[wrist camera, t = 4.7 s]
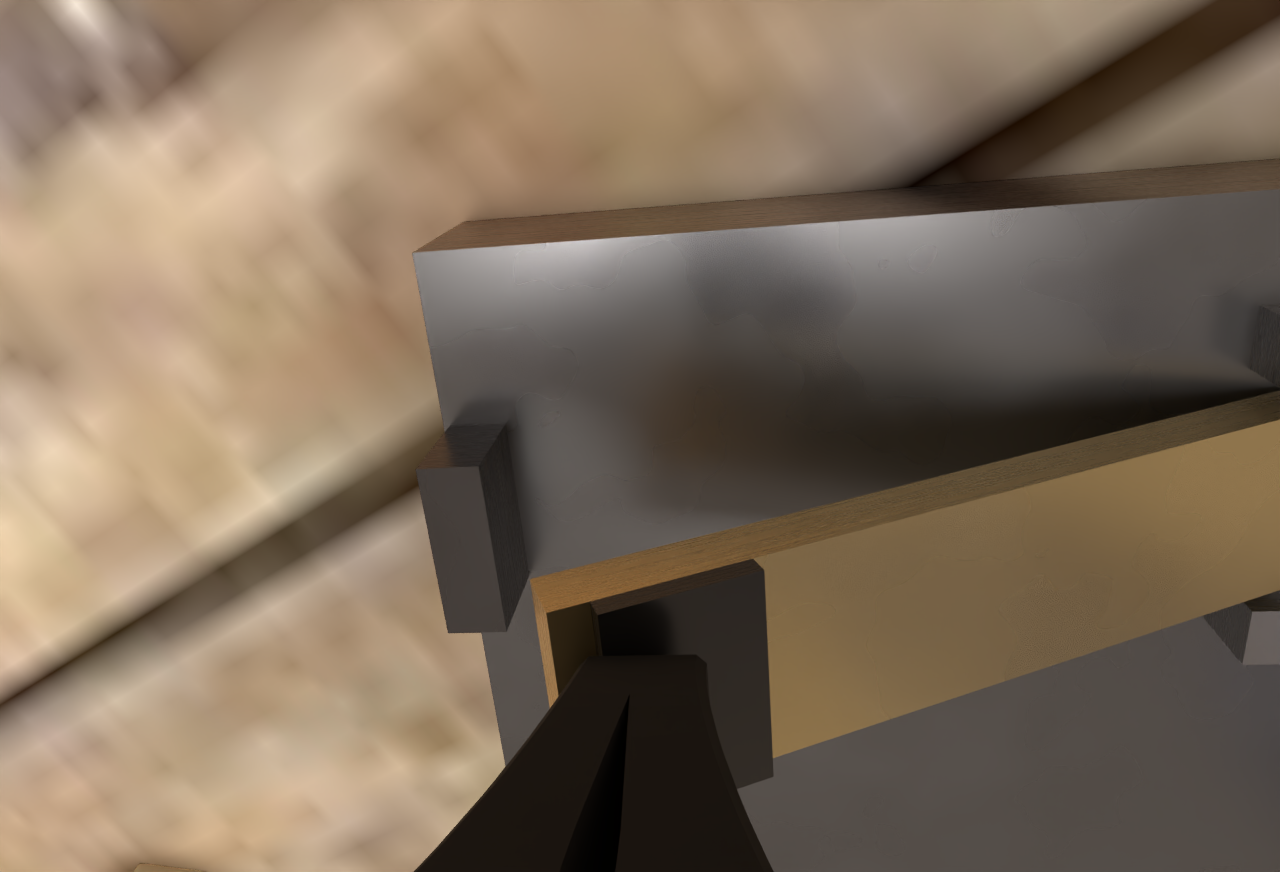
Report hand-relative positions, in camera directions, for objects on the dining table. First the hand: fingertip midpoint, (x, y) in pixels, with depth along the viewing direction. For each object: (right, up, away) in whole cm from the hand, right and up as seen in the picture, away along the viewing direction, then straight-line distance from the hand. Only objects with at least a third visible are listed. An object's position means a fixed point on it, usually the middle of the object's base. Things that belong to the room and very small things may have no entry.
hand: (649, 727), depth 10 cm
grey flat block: (+5, -3, +10) cm, 12 cm away
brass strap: (+4, +1, +3) cm, 5 cm away
